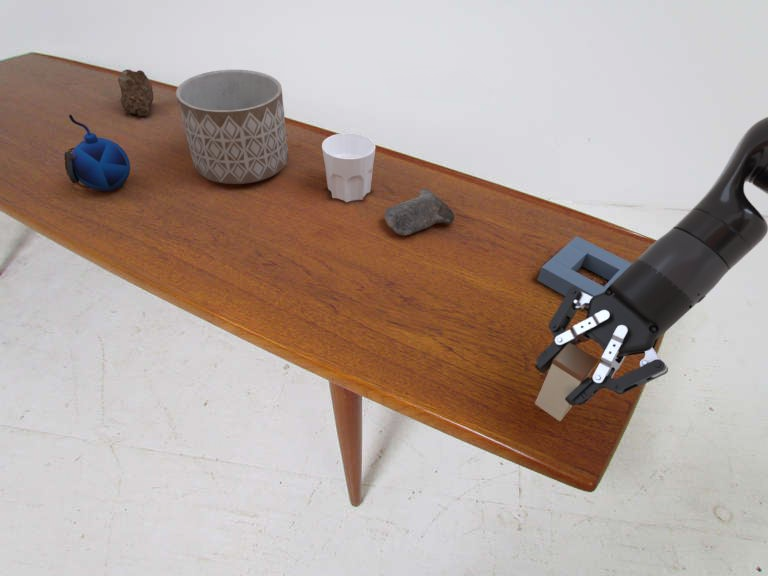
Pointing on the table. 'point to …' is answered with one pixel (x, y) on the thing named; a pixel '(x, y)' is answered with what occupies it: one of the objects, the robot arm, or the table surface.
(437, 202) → the stone
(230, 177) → the planter
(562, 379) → the brown square block
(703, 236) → the robot arm
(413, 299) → the table surface
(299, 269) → the table surface
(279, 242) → the table surface
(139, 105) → the rock
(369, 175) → the cup
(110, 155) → the bomb
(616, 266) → the blue square frame
